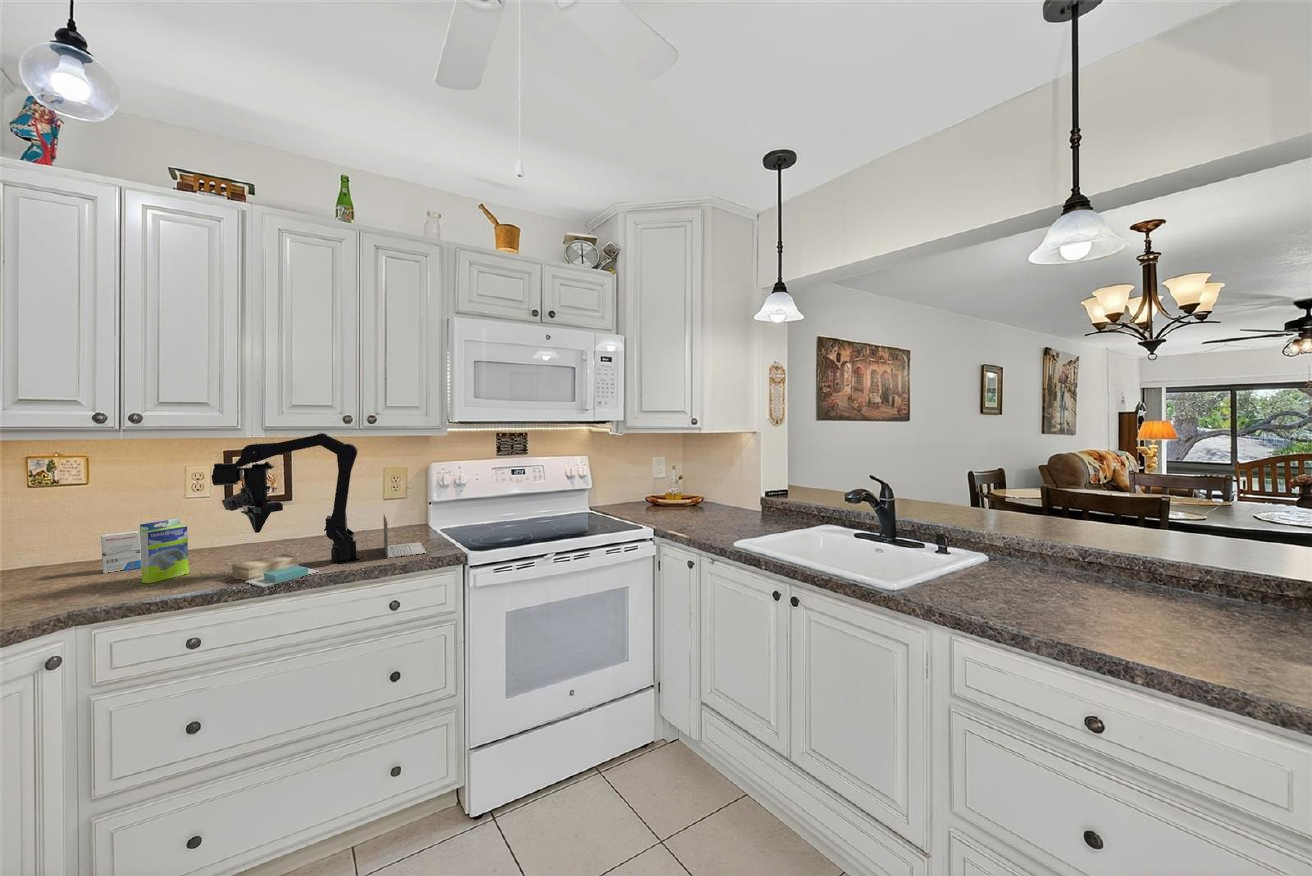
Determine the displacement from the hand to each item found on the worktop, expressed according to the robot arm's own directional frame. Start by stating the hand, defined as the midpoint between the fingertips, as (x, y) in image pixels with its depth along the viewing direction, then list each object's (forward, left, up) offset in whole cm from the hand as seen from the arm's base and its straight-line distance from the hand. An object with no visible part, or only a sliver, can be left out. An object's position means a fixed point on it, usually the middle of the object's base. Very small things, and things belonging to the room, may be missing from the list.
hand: (257, 532), depth 166 cm
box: (+17, -16, -12) cm, 26 cm away
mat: (+1, +16, -12) cm, 20 cm away
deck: (+1, +7, -12) cm, 14 cm away
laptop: (-37, +21, -12) cm, 44 cm away
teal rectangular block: (+1, +18, -10) cm, 20 cm away
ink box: (+19, -40, -12) cm, 46 cm away
